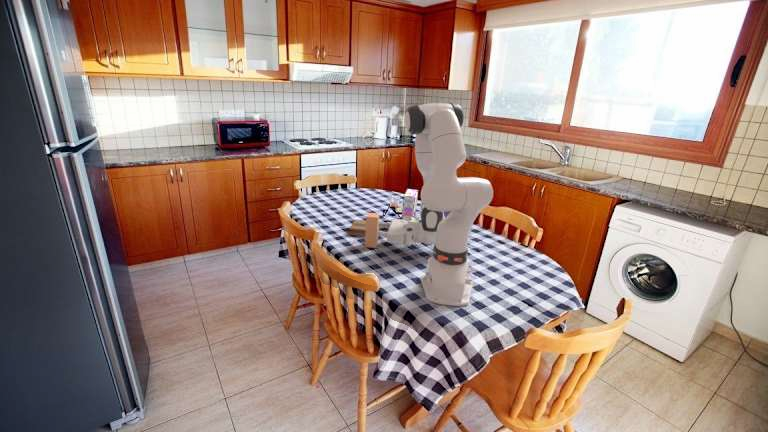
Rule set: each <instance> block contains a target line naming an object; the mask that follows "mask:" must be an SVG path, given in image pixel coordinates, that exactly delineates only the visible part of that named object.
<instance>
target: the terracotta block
mask: <svg viewBox="0 0 768 432" xmlns="http://www.w3.org/2000/svg"><path fill="white" fill-rule="evenodd" d="M365 221H366V232H365V236H364V238H365V239H364V248H372V249H377V247H378V245H379V236H378V235H377V231H378V230H379V229H380V213H375V212H374V213H373V212H368V213H367V214H366V216H365ZM379 231H380V230H379Z"/></svg>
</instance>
